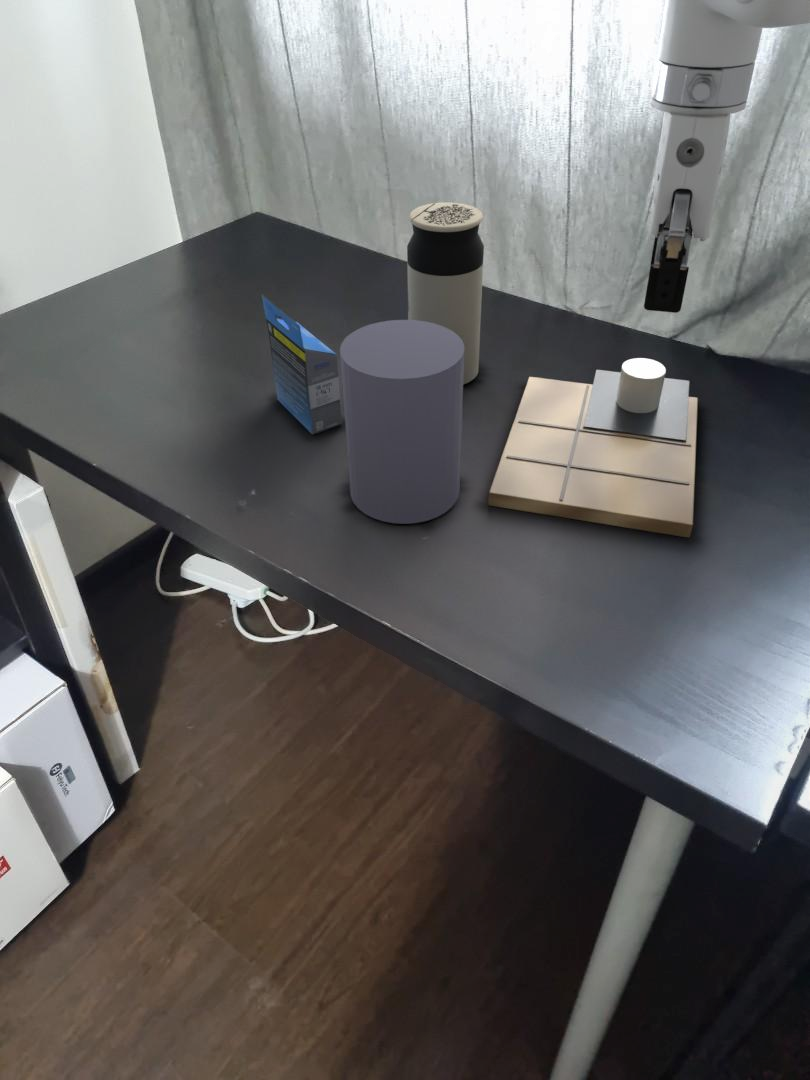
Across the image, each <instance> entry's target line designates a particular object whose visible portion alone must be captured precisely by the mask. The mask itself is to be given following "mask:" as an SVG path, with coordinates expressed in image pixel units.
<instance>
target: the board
mask: <svg viewBox="0 0 810 1080" xmlns="http://www.w3.org/2000/svg"><path fill="white" fill-rule="evenodd" d="M620 374H621V371H611V370H604V369H603V370H602V369H596V370H595V374H594V378H593V383H592V384H591V383H585V382H584V383H583V382H575V381H567V380H559V379H552V378H544V377H537V376H536V377H535V376H529V377H528V379H527V382H526V386H525V387H524V391H523V394H522V396H521V399H520V402H519V405H518V407H517V410H516V414H515V416H514V418H513V419H514V420H513V422H512V426H511V427H510V431H509V434H508V437H507V438H506V439H507V440H506V442H505V445H504V448H503V451H502V454H501V457H500V461H499V463H498V464H497V465H498V466H497V468H496V471H495V474H494V477H493V480H492V483H491V486H490V489H489V491H488V500H487V505H488V506H491V507H496V508H503V509H508V510H509V509H510V510H515V511H521V512H529V513H535V514H539V515H540V514H541V515H545V516H546V515H547V516H551V517H552V516H553V517H558V518H565V519H571V520H575V521H576V520H577V521H583V522H589V523H594V524H595V523H596V524H601V525H606V526H607V525H608V526H614V527H621V528H626V529H631V530H638V531H639V530H640V531H646V532H651V533H657V534H664V535H669V536H676V537H681V538H682V537H683V538H690V537H691V535H692V530H693V527H694V509H695V508H694V507H695V484H696V483H695V482H696V461H697V459H696V458H697V457H696V456H697V434H698V433H697V432H698V431H697V430H698V429H697V428H698V407H699V398H698V397H695V396H689V395H690V380H686V379H678V378H669V377H665V379H664V384H663V388H662V393H661V398H660V402H659V406H658V408H657V409H656V410H654V411H652V412H649V413H633V412H629V411H626V410H624V409H622V408H621V407H620V406H619V405H618V404H617V402H616V397H617V391H618V385H619V379H620Z"/></svg>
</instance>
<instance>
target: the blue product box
mask: <svg viewBox="0 0 810 1080" xmlns="http://www.w3.org/2000/svg"><path fill="white" fill-rule="evenodd" d="M261 297H262V303H263V309H264V315H265V320H266V327H267V334H268V341H269V349H270V355H271V363H272V371H273V378H274V385H275V392H276V400H277V401H278V402H279V403H280V404H281V405H282V406H283V407H284V408H285V409H286V410H287V411H288V412H289V413H290V414H291V415H292V417H294V419H296V421H298V422H299V423H300V424H301V425H302V426H303V427H304V428H305V429H306V430H307V431H308V433H310V434H311V435H316V434H319V433H323V432H326V431H328V430H330V429H334V428H336V427H339V426H341V425H342V424H343V420H342V419H343V418H342V409H341V395H340V394H341V393H340V377H339V366H338V365H339V364H338V363H339V362H338V354H337V353H336V352H334V351H333V350H332V349H331V348H330V347H328V346H327V345H326V344H325V343H323V342H322V340H320V339H318V338H317V337H316V336H315V335H314V334H312V333H311V332H310V331H309V330H308V329H306V328H305V327H304V326H302V325H301V324H300V323H299V322H298V321H295V320H294V319H293V318H291V317H290V316H289V315H288V314H286V312H284V311H283V310H282V309H281V308H279V307H278V306H277V305H276V304H275V303H273V301H271V300H270V299H268V298H267V297H266V296H265V295H264V294H261Z"/></svg>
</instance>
